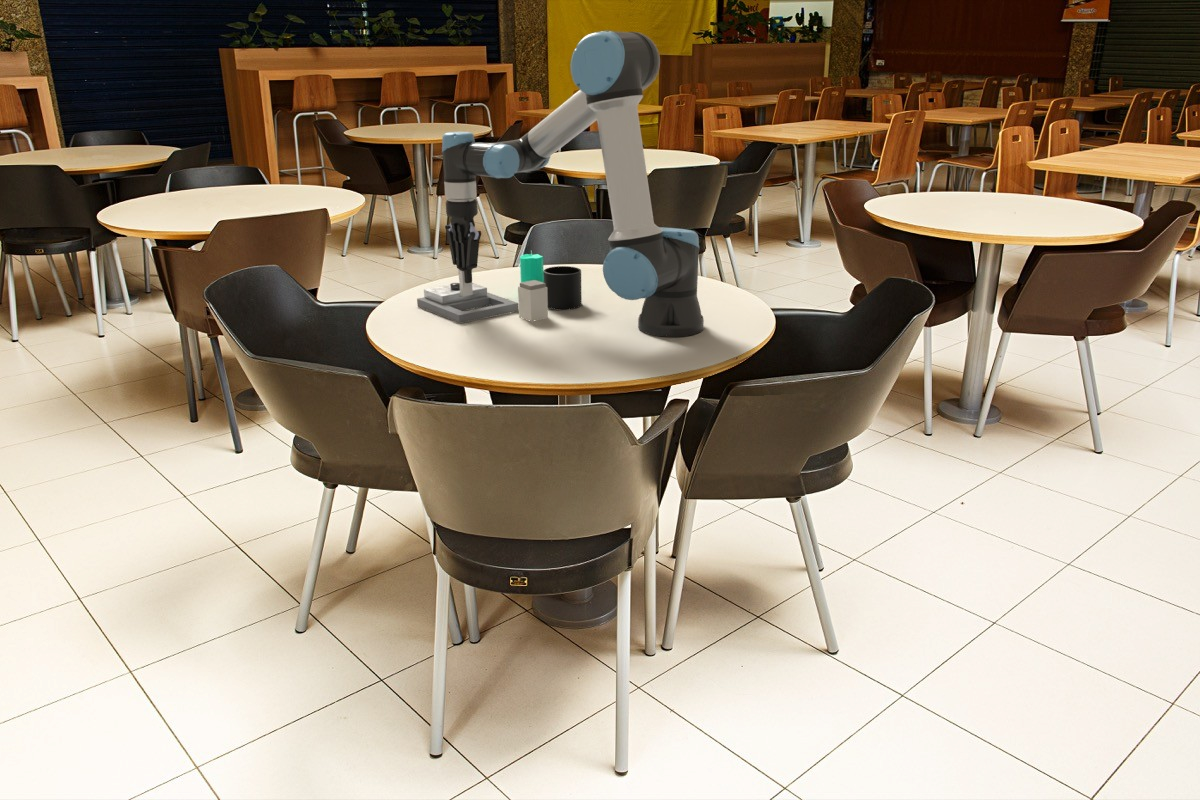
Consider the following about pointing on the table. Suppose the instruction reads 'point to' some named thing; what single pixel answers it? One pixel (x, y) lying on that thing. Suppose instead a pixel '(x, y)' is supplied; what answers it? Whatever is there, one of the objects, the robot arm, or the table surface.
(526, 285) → the plug
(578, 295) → the mug
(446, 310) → the grey flat frame
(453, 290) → the panel
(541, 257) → the candle
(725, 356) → the table surface
